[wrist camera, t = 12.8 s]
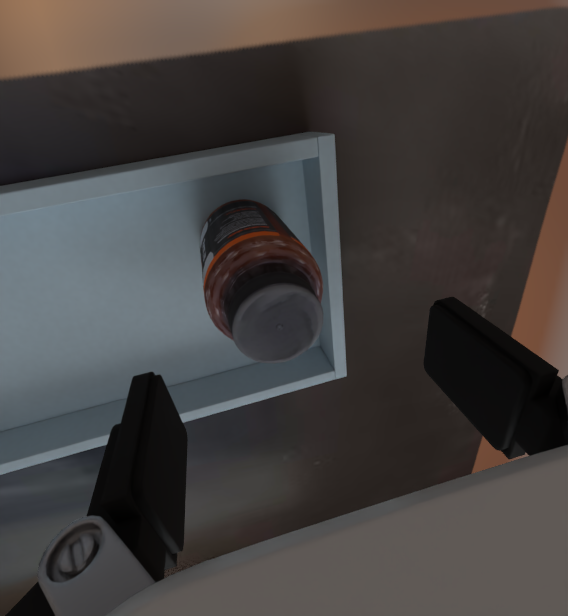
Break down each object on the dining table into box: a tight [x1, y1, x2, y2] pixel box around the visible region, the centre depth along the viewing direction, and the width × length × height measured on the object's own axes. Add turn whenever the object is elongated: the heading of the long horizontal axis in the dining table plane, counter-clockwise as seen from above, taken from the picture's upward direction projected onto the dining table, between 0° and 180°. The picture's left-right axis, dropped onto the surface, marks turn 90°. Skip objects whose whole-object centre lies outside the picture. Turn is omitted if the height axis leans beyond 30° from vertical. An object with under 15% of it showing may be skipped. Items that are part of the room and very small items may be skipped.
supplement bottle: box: [200, 199, 323, 364], centre depth 18 cm, size 6×6×11 cm
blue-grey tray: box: [0, 132, 347, 475], centre depth 22 cm, size 34×18×4 cm, turn 98°
